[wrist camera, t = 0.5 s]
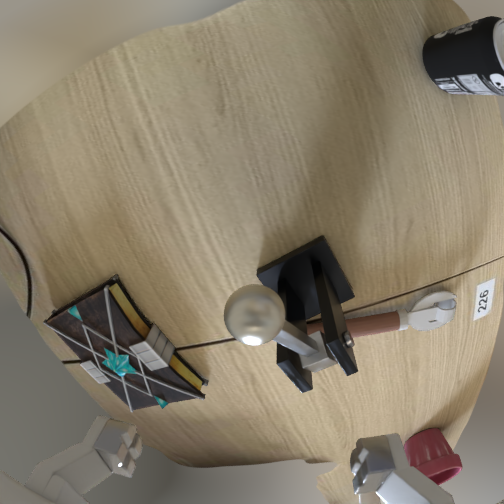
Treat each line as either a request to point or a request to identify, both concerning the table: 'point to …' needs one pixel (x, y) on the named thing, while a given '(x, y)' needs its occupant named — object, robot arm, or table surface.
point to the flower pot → (432, 456)
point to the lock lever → (273, 326)
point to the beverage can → (468, 58)
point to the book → (124, 349)
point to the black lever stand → (311, 304)
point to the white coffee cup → (369, 498)
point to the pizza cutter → (403, 317)
